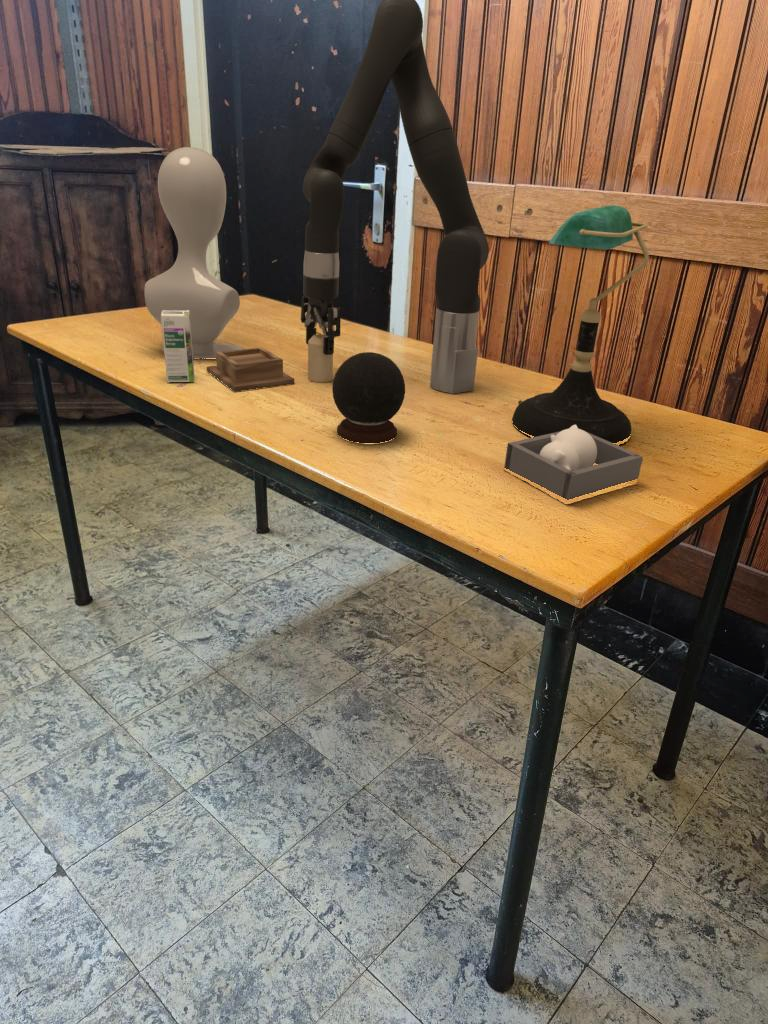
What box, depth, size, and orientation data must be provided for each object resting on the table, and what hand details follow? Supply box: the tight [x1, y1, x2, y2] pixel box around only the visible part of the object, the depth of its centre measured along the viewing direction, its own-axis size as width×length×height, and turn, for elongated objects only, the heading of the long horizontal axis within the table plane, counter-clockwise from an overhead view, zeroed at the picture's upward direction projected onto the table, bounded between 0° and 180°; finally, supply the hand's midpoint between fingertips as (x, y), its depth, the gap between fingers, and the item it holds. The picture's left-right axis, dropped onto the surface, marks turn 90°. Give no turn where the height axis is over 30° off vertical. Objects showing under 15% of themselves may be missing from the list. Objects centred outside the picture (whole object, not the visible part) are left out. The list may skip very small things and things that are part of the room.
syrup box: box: [160, 310, 195, 383], centre depth 150 cm, size 6×6×14 cm
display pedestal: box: [206, 346, 295, 392], centre depth 155 cm, size 16×14×5 cm
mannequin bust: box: [143, 146, 243, 360], centre depth 163 cm, size 22×20×45 cm
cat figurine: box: [539, 425, 597, 471], centre depth 117 cm, size 9×11×12 cm
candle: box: [307, 333, 334, 383], centre depth 156 cm, size 6×6×10 cm
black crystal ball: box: [331, 351, 406, 443], centre depth 127 cm, size 13×13×15 cm
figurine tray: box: [503, 428, 644, 500], centre depth 116 cm, size 14×16×5 cm
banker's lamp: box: [511, 204, 650, 443], centre depth 129 cm, size 26×23×40 cm
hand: (319, 349), depth 156 cm, fingers open, 8 cm apart
